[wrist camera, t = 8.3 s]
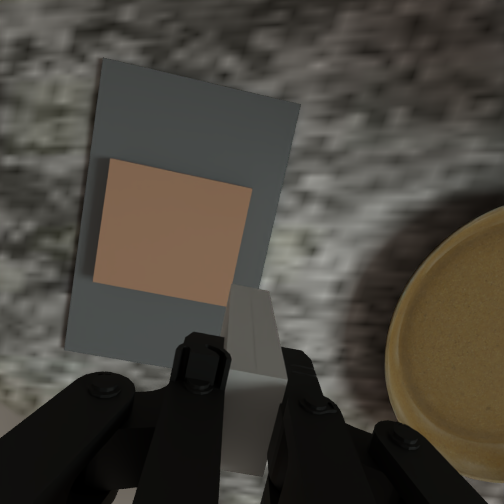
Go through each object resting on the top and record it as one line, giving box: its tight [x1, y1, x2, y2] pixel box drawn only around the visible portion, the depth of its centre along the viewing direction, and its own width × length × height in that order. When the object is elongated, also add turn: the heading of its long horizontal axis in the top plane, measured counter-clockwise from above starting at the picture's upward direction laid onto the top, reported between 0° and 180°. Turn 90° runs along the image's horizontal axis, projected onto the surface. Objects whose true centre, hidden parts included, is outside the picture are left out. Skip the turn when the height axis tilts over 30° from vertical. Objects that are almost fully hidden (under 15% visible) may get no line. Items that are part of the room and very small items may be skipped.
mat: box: [64, 58, 301, 368], centre depth 32 cm, size 22×14×1 cm, turn 168°
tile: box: [93, 158, 252, 307], centre depth 31 cm, size 9×1×10 cm
